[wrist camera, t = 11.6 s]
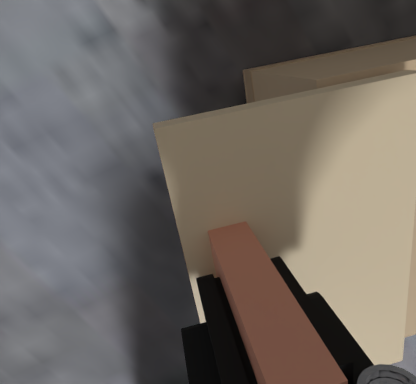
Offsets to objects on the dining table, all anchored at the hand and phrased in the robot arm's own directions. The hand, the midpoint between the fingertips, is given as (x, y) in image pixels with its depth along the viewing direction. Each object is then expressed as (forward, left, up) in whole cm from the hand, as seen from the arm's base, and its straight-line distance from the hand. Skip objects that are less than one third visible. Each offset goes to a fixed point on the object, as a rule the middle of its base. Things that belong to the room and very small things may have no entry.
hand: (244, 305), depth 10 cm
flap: (-2, 0, -2) cm, 3 cm away
